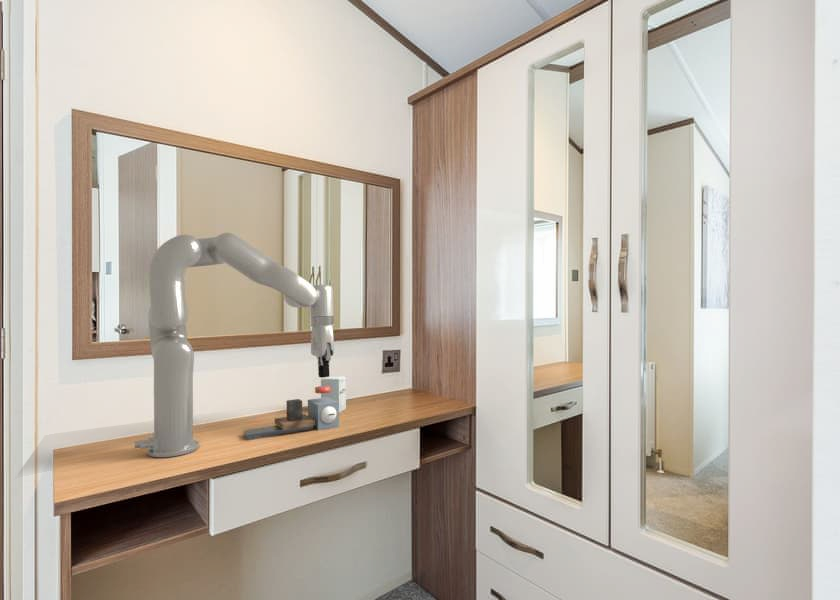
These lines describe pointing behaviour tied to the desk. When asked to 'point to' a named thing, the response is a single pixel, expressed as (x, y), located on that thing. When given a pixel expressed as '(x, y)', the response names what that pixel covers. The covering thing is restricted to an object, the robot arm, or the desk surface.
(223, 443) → the desk surface
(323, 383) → the supplement box
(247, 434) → the track
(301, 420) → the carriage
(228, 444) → the desk surface
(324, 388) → the button
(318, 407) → the gauge cabinet
